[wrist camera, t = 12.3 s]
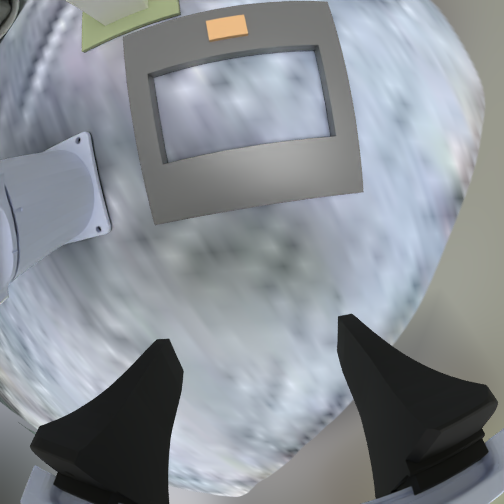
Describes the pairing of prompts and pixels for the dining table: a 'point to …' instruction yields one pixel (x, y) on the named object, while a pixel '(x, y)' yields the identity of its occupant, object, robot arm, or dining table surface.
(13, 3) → the ceramic mug
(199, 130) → the dining table surface
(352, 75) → the dining table surface
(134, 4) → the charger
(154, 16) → the rubber mat
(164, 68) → the grey square frame
